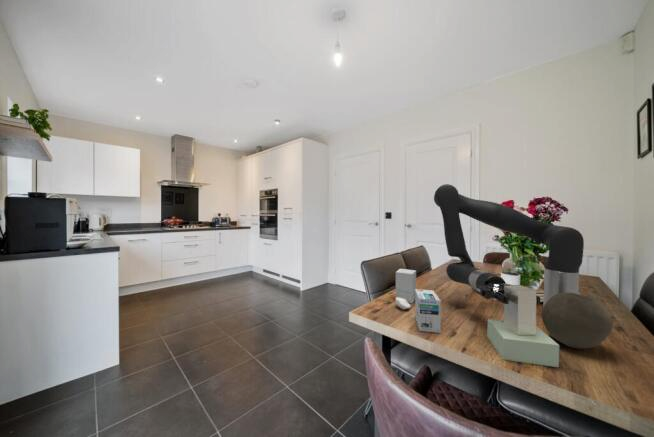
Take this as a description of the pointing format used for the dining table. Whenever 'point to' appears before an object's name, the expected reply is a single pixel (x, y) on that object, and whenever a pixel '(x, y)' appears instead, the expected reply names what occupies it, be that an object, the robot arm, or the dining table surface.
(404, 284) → the supplement box
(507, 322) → the tea tin
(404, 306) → the dumpling
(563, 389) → the dining table surface
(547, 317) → the brown coconut
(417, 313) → the light bulb box
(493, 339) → the green box
